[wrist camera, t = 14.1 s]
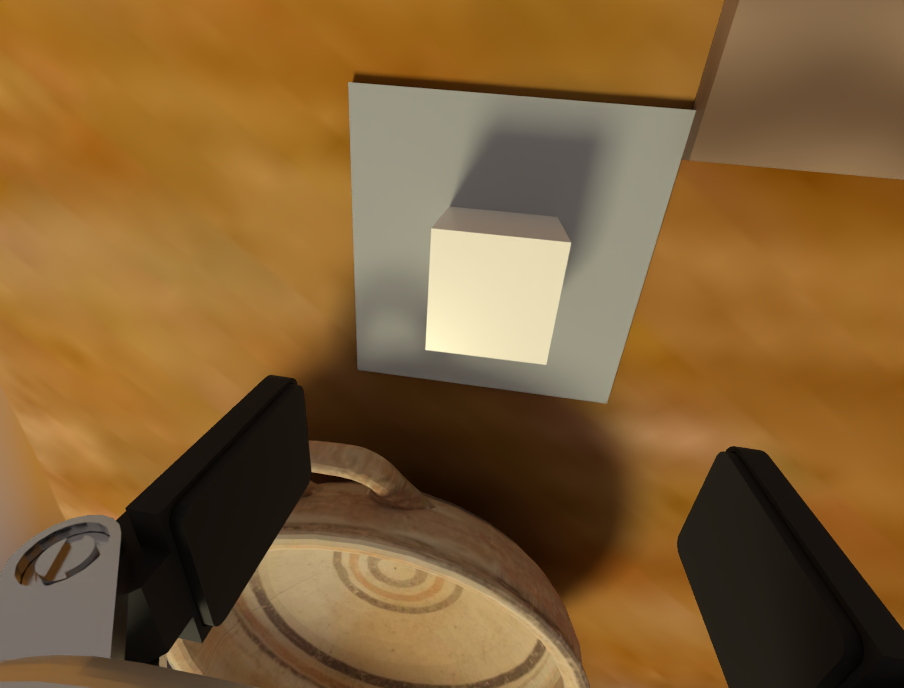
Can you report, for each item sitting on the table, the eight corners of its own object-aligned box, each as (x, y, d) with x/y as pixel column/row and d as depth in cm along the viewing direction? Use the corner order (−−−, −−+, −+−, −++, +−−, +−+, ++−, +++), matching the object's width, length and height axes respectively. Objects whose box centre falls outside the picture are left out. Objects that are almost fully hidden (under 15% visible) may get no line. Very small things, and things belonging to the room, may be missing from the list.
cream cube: (557, 216, 21) (571, 242, 16) (538, 316, 24) (546, 365, 19) (449, 206, 22) (430, 228, 17) (442, 305, 24) (425, 349, 19)
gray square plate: (605, 398, 26) (606, 403, 26) (359, 365, 28) (357, 369, 27) (691, 110, 19) (696, 110, 19) (351, 83, 20) (348, 82, 20)
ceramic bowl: (169, 363, 30) (24, 461, 21) (585, 360, 25) (624, 481, 17) (296, 655, 46) (245, 779, 37) (561, 682, 42) (575, 830, 33)
